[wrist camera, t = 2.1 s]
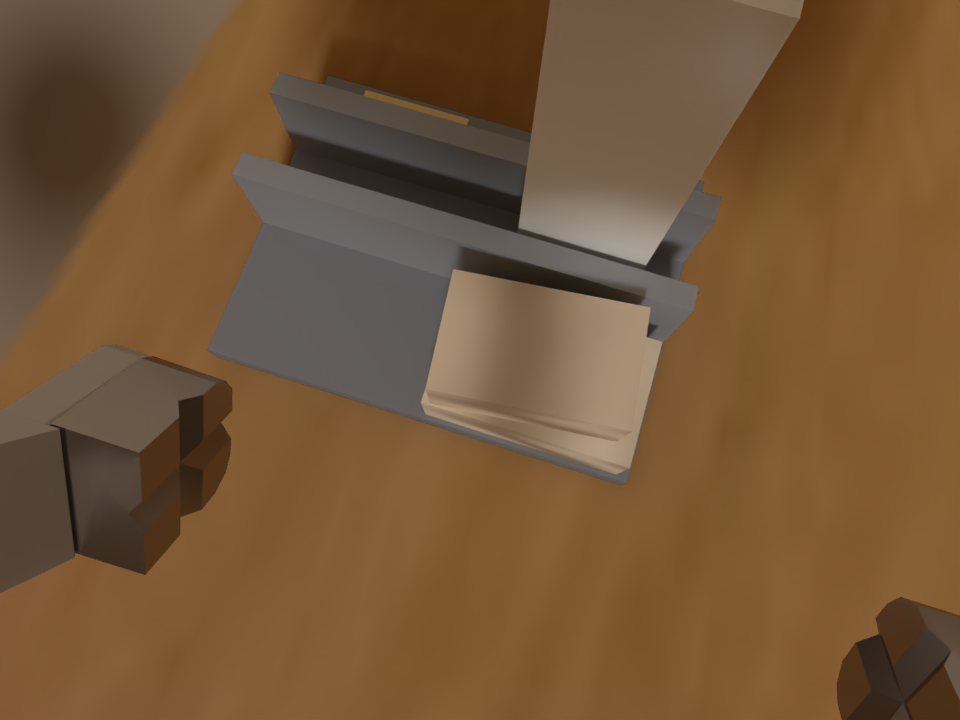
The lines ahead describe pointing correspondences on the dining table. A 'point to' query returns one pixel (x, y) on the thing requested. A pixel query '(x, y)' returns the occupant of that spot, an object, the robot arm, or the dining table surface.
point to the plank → (638, 113)
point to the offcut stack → (543, 368)
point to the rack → (406, 247)
